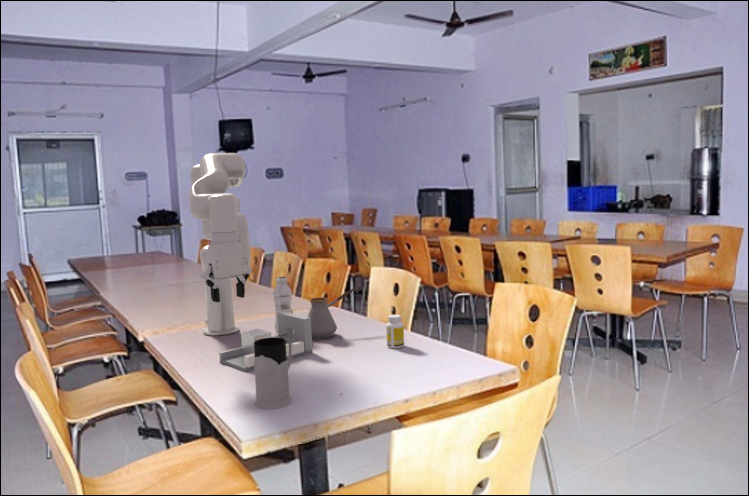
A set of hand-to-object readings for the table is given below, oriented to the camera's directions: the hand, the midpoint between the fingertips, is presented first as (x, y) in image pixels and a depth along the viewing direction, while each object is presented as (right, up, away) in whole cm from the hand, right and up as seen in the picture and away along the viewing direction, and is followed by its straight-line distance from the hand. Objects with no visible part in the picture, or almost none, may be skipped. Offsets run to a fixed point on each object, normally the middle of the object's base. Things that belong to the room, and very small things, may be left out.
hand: (228, 298), depth 173 cm
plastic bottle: (+11, -16, +37) cm, 41 cm away
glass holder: (+18, -22, -25) cm, 38 cm away
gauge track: (+9, -19, +10) cm, 23 cm away
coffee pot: (+28, -15, +35) cm, 47 cm away
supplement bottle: (+49, -17, +17) cm, 54 cm away
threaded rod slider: (+11, -17, +9) cm, 23 cm away
